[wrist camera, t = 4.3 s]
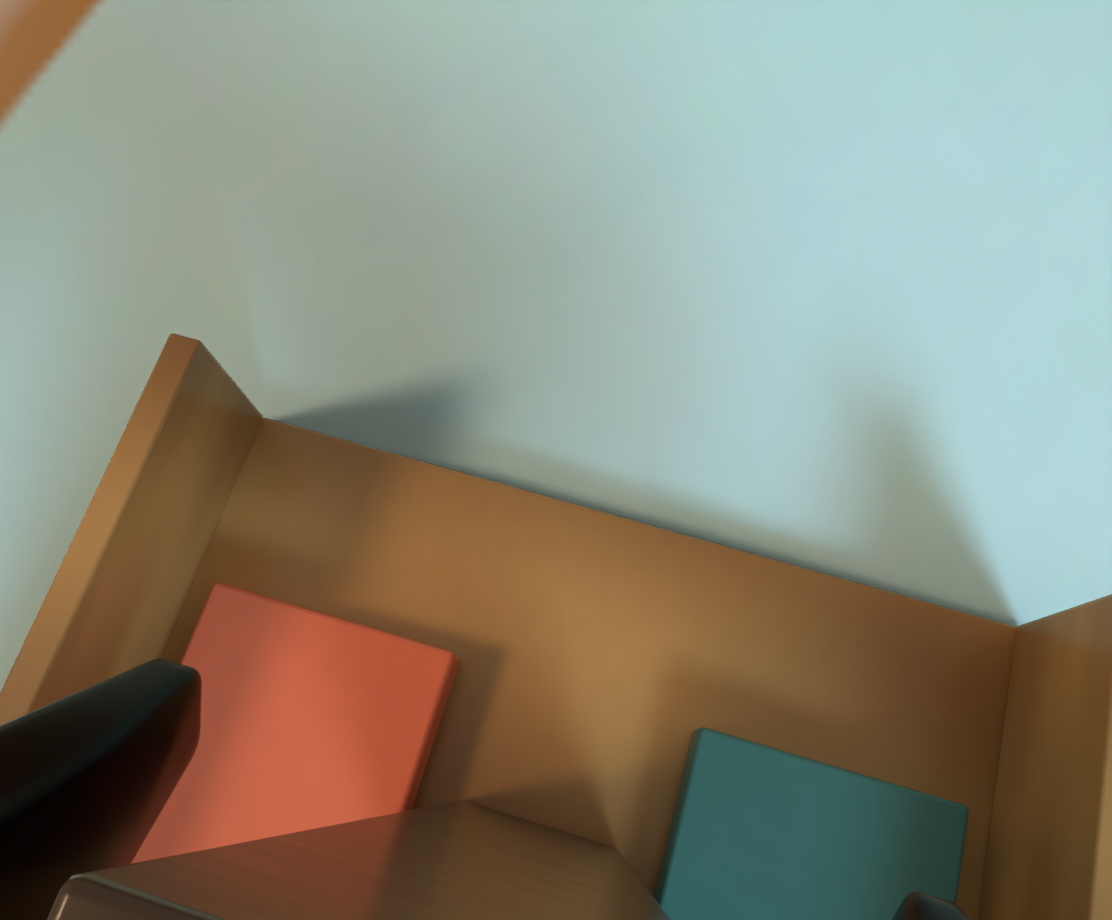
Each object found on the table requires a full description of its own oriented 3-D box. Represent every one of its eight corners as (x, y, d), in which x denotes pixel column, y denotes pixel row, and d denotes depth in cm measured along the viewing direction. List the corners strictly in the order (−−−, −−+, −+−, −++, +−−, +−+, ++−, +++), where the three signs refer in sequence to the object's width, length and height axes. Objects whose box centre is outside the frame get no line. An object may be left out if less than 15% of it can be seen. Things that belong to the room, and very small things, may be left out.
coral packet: (351, 998, 13) (338, 1012, 13) (97, 912, 14) (70, 919, 13) (461, 658, 15) (455, 651, 14) (230, 589, 15) (212, 579, 14)
